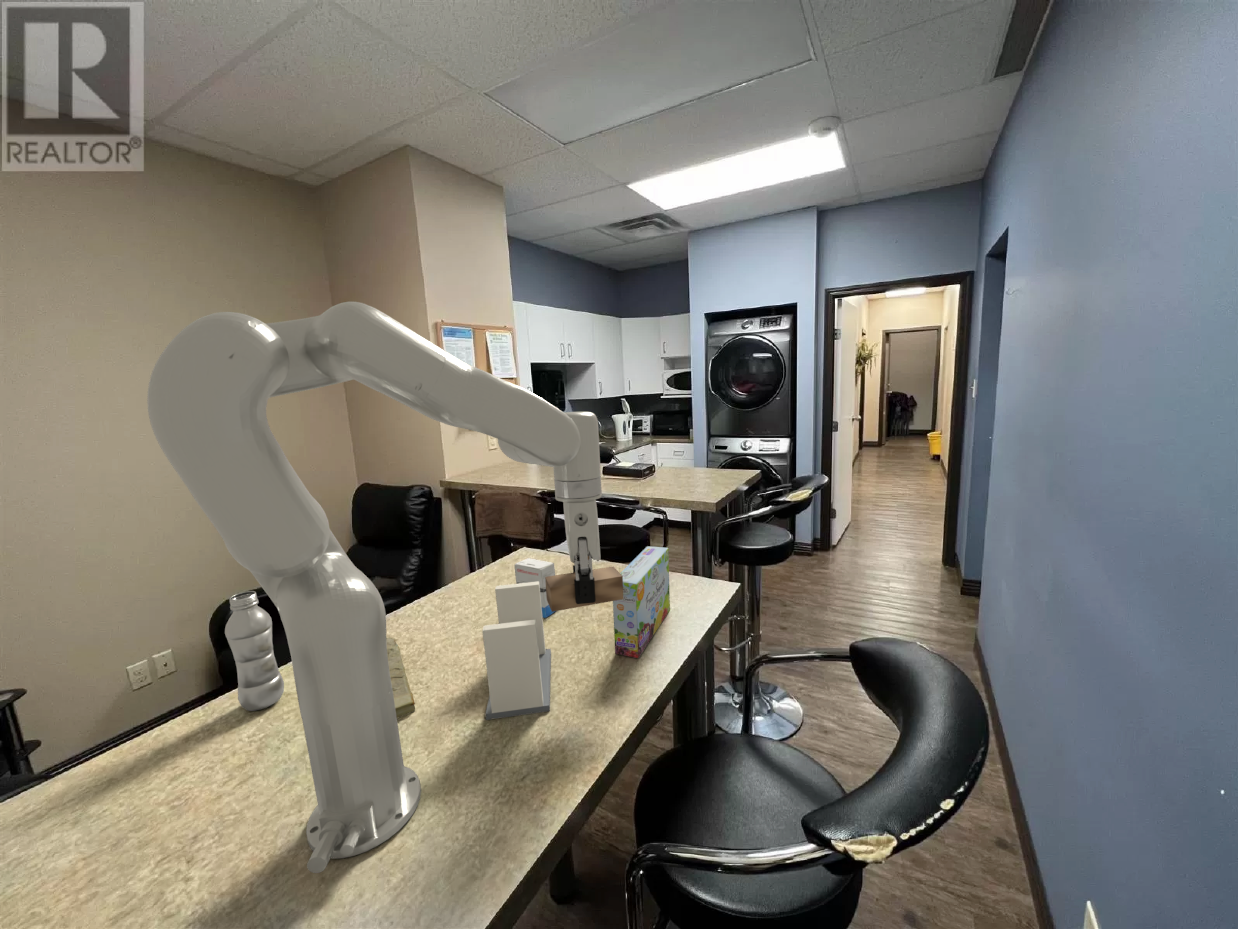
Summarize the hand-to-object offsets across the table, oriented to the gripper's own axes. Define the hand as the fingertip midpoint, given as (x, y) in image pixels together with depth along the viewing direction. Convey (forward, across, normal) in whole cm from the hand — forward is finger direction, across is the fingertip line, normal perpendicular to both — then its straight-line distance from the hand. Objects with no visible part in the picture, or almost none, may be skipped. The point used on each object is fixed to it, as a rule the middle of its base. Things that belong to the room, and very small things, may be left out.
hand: (584, 593), depth 80 cm
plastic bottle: (+18, +8, +56) cm, 60 cm away
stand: (+17, +4, +12) cm, 21 cm away
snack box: (+17, +16, -13) cm, 27 cm away
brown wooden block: (+1, 0, 0) cm, 1 cm away
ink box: (+17, +32, +10) cm, 37 cm away
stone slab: (+18, +11, +40) cm, 45 cm away
